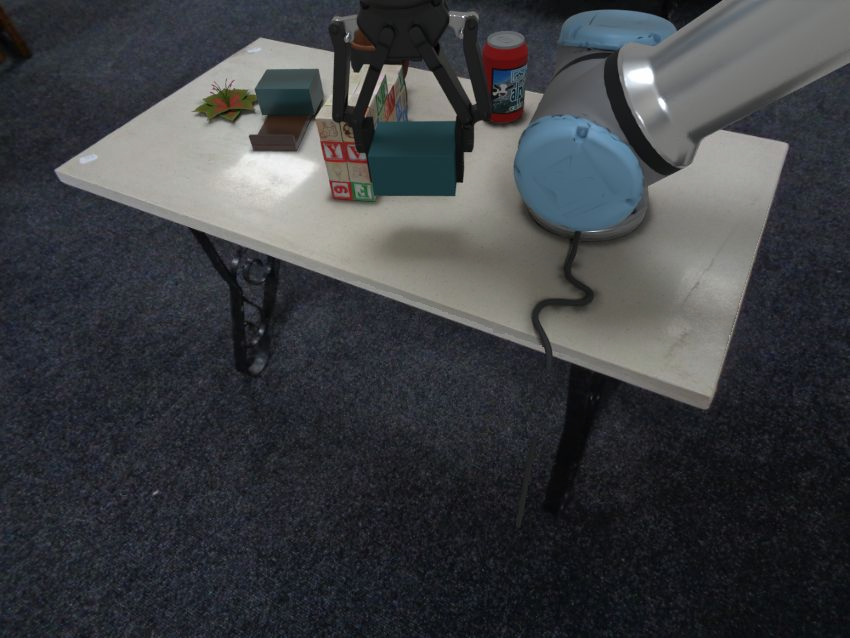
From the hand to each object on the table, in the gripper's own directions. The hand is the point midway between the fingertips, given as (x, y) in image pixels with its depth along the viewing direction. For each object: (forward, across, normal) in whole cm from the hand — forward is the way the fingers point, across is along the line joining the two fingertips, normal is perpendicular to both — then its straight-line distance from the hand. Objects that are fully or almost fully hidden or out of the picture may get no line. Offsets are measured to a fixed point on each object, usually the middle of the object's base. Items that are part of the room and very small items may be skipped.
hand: (417, 175), depth 63 cm
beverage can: (+10, -10, -31) cm, 34 cm away
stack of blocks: (+10, +10, -19) cm, 23 cm away
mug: (+10, +9, -35) cm, 38 cm away
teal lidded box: (+9, +25, -29) cm, 40 cm away
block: (0, 0, 0) cm, 0 cm away
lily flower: (+9, +37, -34) cm, 51 cm away
